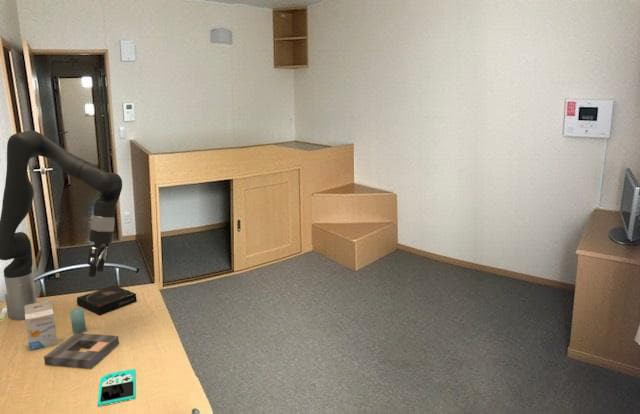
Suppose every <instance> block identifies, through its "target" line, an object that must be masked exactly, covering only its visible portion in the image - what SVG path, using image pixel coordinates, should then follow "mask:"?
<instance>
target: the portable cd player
mask: <svg viewBox="0 0 640 414" xmlns="http://www.w3.org/2000/svg"><path fill="white" fill-rule="evenodd" d="M134 303H137V293H135V292H132V291H130V290H128V289H125V288H122V287H120V286H118V285H117V286H116V285H111V286H108V287H105V288H102V289H101V288H100V289H99V290H96V291H93V292H92V291H91V292H90V293H87V294H86V293H85V294H83V295H81V296H77V297H76V304H77V306H78V307H79V308H83V309H85V310H86V311H89V312H91V313H93V314H95V315H97V316H103V315H105V314H107V313H110V312H113V311H115V310H119V309H121V308H123V307H127V306H129V305H132V304H134Z"/></svg>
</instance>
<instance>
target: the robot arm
mask: <svg viewBox="0 0 640 414" xmlns="http://www.w3.org/2000/svg"><path fill="white" fill-rule="evenodd" d="M6 143H7V145H6V174H5V181H4V182H5V183H4V184H5V185H4V189H3V197H2V204H1V205H2V206H1V212H0V261H8V260H11V262H10V263H9V264H8V265H7V266H5V267H4V268H3V277H4V283H5V289H6V293H5V294H4V298H5V299H4V300H5V305H6V310H7V317H8V318H10V319H11V320H14V321H15V320H16V321H19V320H25V310H24V306H25V305H30V304H35V303H38V302H37V296H36V290H35V281H34V276H33V251H32V242H31V239H30V237H29V236H28V234H26V233H25V232H23V231H17V229H18V228H19V226H20V224H22V222H23V221H24V220H25V218H26V217H27V216H28V214H29V213H30V211H31V209H32V205H33V200H34V195H35V194H34V193H35V192H34V187H33V185H32V182H31V180H30V179H29V177H28V166H29V162H30V159H33V158H35V157H42V158H43V157H44V158H46V159H49V160H51V161H53V162H54V163H56V165H57V166H59V168H60V170H62V171H63V172H64V173H65V174H67V175H68V176H71V177H72V178H75V179H77V180H79V181H81V182H83V183H84V184H86V185H87V186H90V188H92V189H94V190H96V191H97V192H100V193H101V194H100V196H99V198H98V199H96V200H95V202H94V204H93V205H94V206H93V212H92V217H91V222H90V228H89V235H88V241H89V242H91V243H93V246H90V247H89V253H88V260H87V265H88V266H89V270H88V276H89V277H93V278H94V277H97V272H99V273H100V272H104V269H105V262H106V260H107V259H108V257H109V256H108V255H109V249H110V248H109V247H110V244H111V243H112V242H113V238H114V231H115V217H116V207H117V204H118V201H119V199H120V196H121V193H122V189H123V179H122V177H121V176H120V175H119V174H118V173H115V172H106V171H103V170H101V169H100V168H98V167H97V166H96V165H95V164H93V163H92V162H90V161H87V160H85V159H84V158H81V157H78V156H76V155H75V154H73V153H71V152H69V151H68V150H66V149H64V148H63V147H61V145H59V144H57V143H55V142H54V141H52V140H51V139H50V138H48V137H47V136H46V135H44V134H42V133H40V132H38V131H35V130H27V131H22V132H17V133H14V134H12V135H10V136H9V138H8V140H7V142H6ZM16 231H17V232H16ZM12 259H13V260H12ZM33 308H38V305H37V306H36V307H33Z"/></svg>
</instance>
